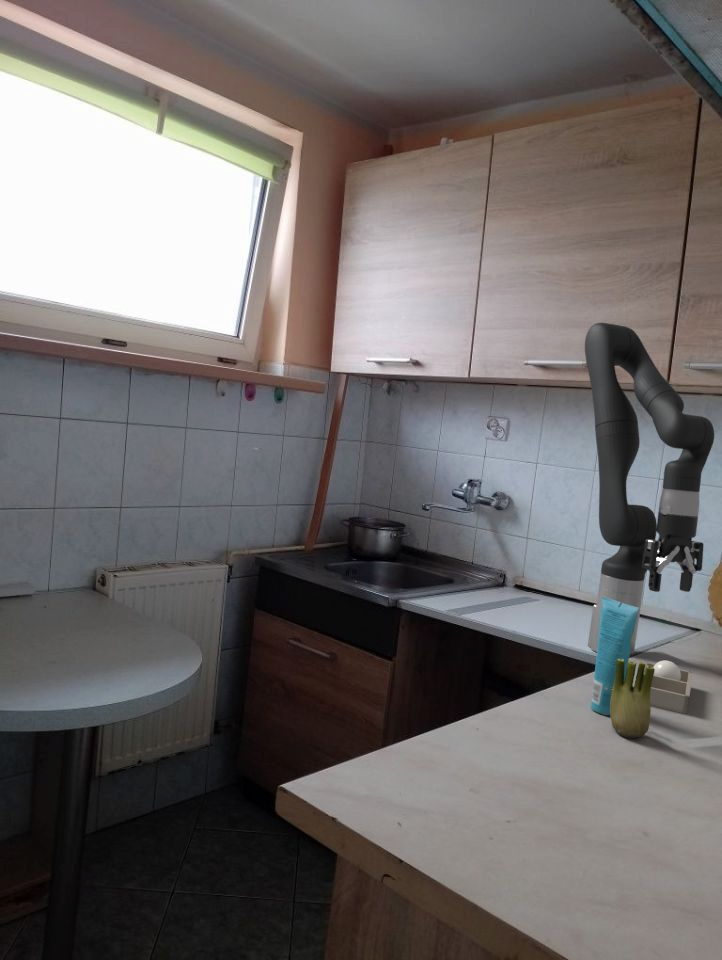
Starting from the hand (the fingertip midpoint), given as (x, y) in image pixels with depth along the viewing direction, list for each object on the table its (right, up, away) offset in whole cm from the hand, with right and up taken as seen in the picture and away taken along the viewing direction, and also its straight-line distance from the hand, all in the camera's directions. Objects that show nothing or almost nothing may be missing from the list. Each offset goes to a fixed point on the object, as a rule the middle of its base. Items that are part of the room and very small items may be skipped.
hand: (669, 591), depth 155 cm
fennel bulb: (-21, -18, -34) cm, 44 cm away
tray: (-7, -18, -15) cm, 24 cm away
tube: (-21, -17, -24) cm, 36 cm away
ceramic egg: (-6, -17, -11) cm, 21 cm away
